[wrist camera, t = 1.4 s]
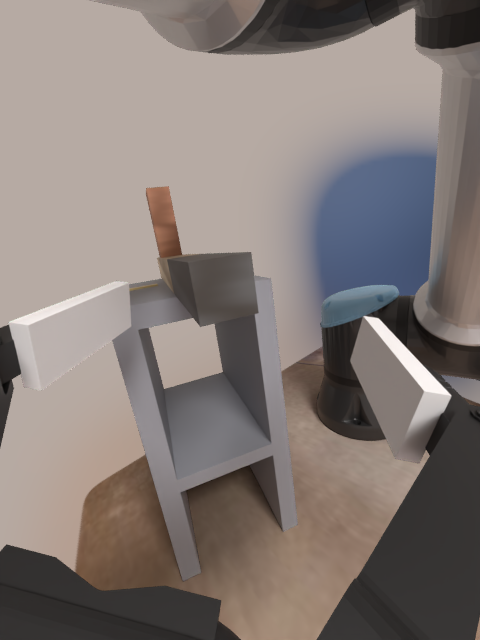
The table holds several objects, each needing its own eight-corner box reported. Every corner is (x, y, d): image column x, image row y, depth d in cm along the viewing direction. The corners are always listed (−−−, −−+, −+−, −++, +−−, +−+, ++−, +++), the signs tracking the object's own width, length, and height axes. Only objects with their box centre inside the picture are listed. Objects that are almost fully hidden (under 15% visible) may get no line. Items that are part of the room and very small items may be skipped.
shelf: (244, 430, 50) (217, 267, 42) (297, 524, 32) (270, 276, 24) (168, 458, 46) (122, 284, 38) (182, 581, 29) (103, 308, 20)
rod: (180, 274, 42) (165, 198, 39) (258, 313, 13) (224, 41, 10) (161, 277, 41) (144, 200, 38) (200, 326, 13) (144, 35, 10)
